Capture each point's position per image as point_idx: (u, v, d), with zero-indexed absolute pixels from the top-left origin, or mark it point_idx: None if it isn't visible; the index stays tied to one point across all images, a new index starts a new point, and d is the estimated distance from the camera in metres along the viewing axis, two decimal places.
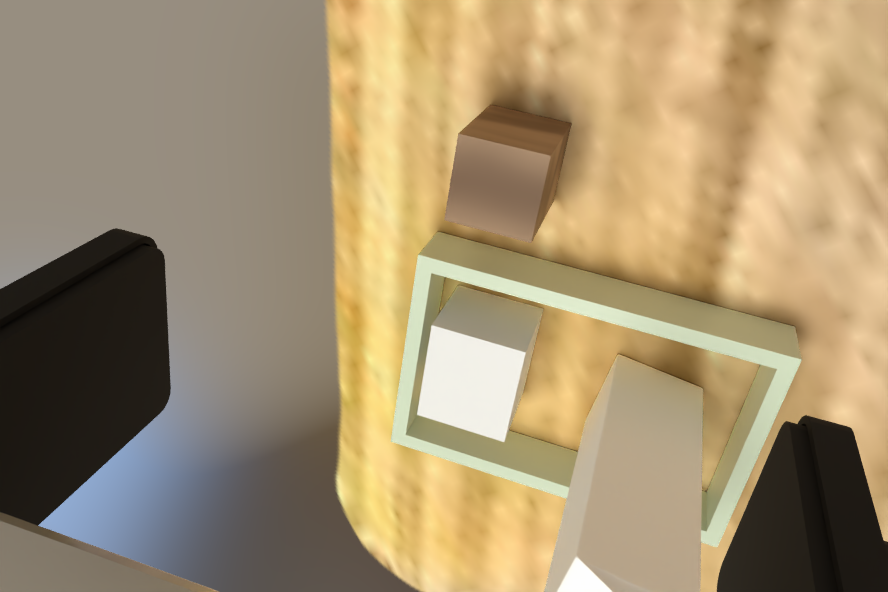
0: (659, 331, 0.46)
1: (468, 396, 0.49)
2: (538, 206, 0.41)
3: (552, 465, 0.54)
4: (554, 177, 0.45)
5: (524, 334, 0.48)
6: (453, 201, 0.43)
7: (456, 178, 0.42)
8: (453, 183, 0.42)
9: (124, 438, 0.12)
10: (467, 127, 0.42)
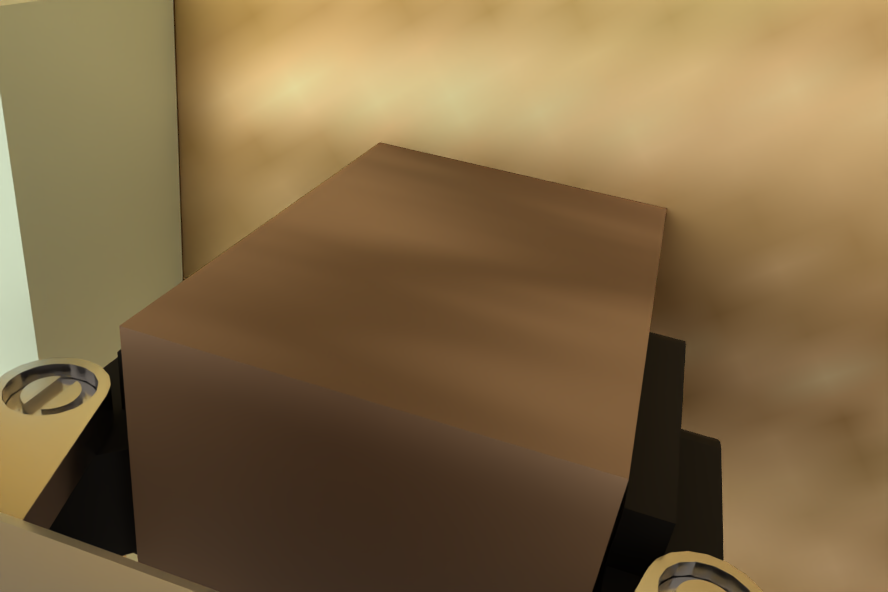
0: None
1: None
2: None
3: None
4: None
5: None
6: (230, 388, 0.07)
7: (359, 425, 0.07)
8: (328, 404, 0.07)
9: None
10: None
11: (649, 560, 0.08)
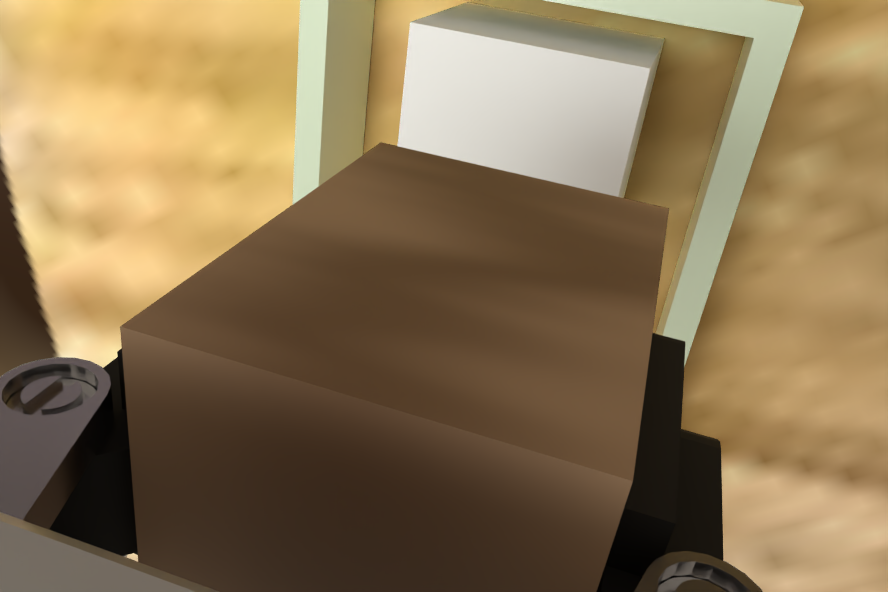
0: None
1: (481, 145, 0.24)
2: None
3: None
4: None
5: None
6: (232, 390, 0.07)
7: (361, 426, 0.07)
8: (330, 405, 0.07)
9: None
10: None
11: (649, 560, 0.08)
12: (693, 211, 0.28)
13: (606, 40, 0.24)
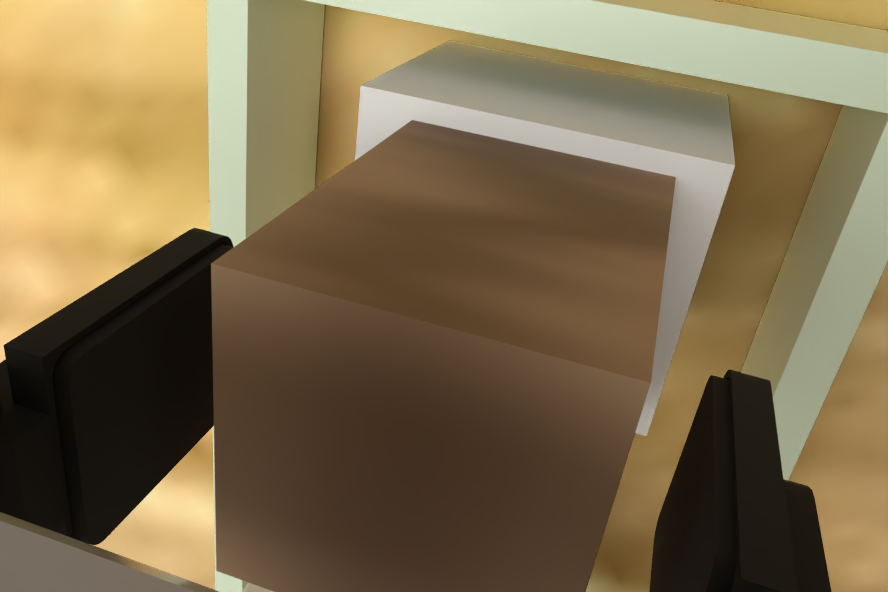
0: None
1: None
2: None
3: None
4: None
5: None
6: (307, 316, 0.09)
7: (419, 344, 0.08)
8: (393, 326, 0.08)
9: (200, 431, 0.12)
10: None
11: None
12: (762, 328, 0.20)
13: (652, 105, 0.17)
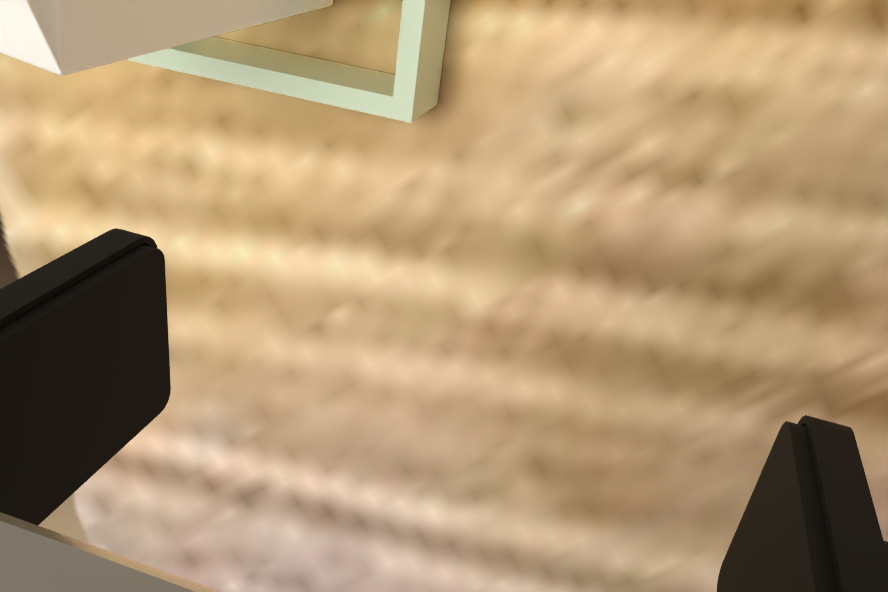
0: None
1: None
2: None
3: None
4: None
5: None
6: None
7: None
8: None
9: (124, 438, 0.12)
10: None
11: None
12: None
13: None
